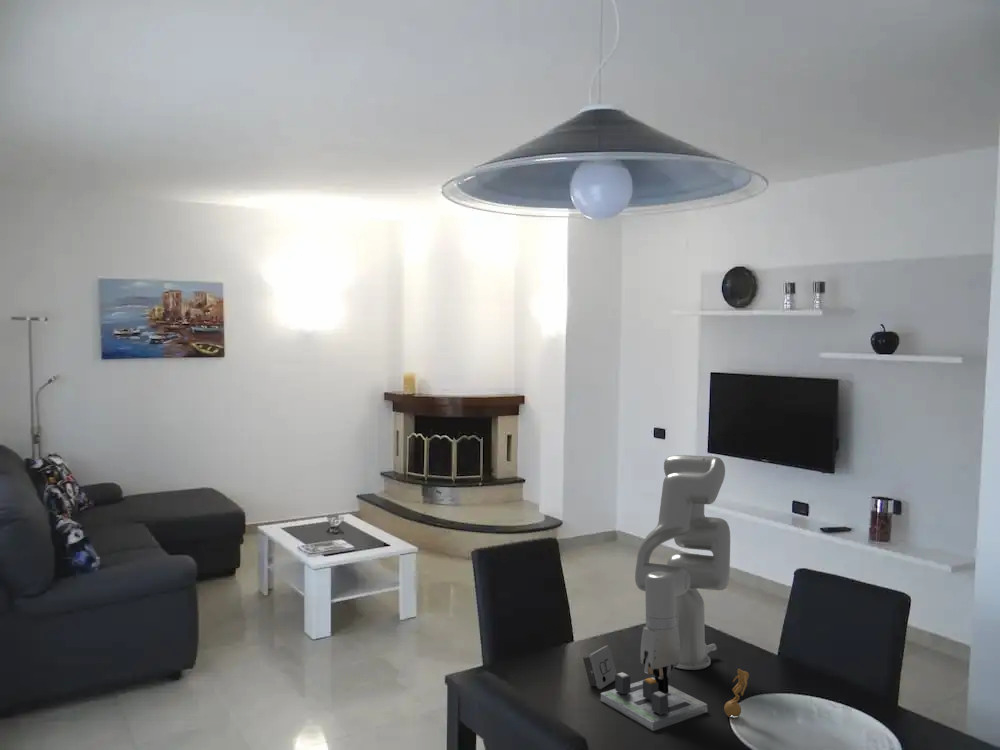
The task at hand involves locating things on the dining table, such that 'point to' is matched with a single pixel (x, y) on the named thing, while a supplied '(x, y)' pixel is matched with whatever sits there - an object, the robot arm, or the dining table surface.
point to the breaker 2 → (659, 702)
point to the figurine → (732, 705)
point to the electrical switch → (600, 667)
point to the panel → (641, 708)
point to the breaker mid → (649, 688)
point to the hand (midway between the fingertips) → (661, 691)
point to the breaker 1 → (622, 683)
